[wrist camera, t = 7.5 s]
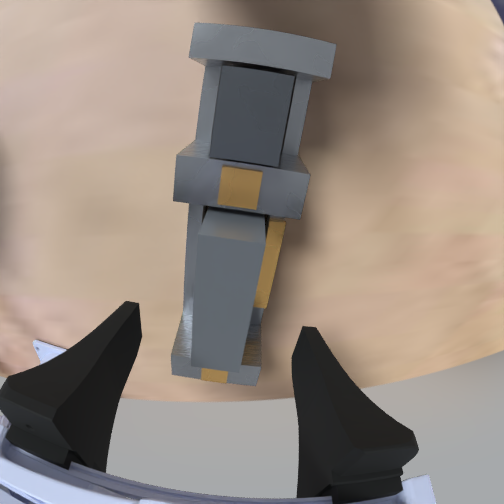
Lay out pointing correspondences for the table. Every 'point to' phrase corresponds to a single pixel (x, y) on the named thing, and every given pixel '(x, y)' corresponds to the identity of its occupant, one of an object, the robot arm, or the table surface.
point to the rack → (246, 157)
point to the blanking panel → (225, 286)
